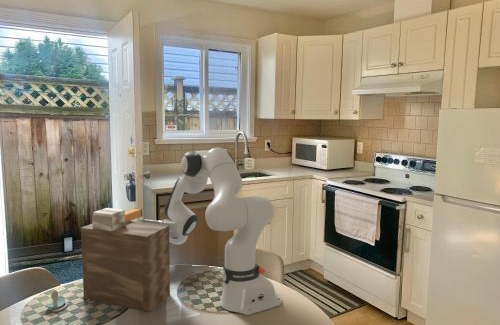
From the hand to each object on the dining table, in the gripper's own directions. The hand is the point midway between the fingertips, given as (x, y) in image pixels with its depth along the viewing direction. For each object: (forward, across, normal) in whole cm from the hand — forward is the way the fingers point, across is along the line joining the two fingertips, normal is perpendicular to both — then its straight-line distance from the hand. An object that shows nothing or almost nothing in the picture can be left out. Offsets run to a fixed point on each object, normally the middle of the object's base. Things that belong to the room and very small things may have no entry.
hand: (150, 221), depth 164 cm
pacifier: (+22, -12, +39) cm, 47 cm away
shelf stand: (+8, +5, +30) cm, 32 cm away
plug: (+17, 0, +5) cm, 18 cm away
